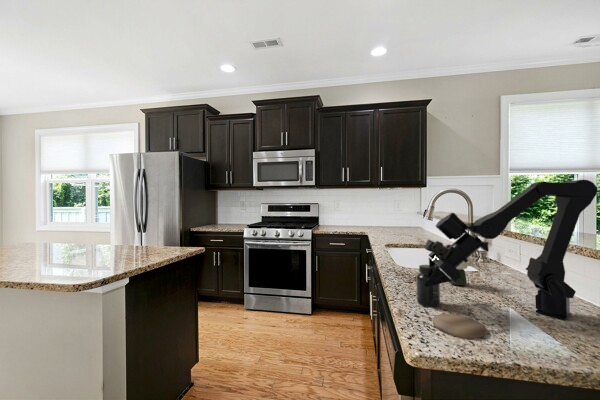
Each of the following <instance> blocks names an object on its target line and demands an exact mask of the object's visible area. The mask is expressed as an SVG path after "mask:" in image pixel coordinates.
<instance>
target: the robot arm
mask: <svg viewBox="0 0 600 400" xmlns="http://www.w3.org/2000/svg"><path fill="white" fill-rule="evenodd" d="M598 190H599V189H598V186H597V185H596V184H595V183H594V182H593V181H591V180H589V179H576V180H567V181H564V182H553V181H551V182H548V181H537V182H533V183H531V184H530V185H529V186H528V187H527V188H525V189H524V190H523V191H522V192H520V193H519V194H517V195H516V196H515V197H513V198H512V199H510V201H508V202H506V203H505V204H504V205H502V206H501V207H500V208H499V209H498V210H496V211H493V212H491V213H489V214H486V215H484V216H482V217H480V218H477V220H475V221H474V222H466V223H465V222H464V221H463V220H461V218H460V217H458V215H457V214H456V213H455V212H450V213H449V214H448V215H446V216H444V217H442V218H441V219H440V220H438V222H437V223H436V224H435V227H436V229H438V230H439V232H441V233H442V234H443V235H444V236H445V237H446V238H447V239H449V240H452V239H453V240H455V241H454V242H453V243H452V244H446V245H445V246H444V243H443V242H440V241H438V240H436V241H433V240H431V239H429V238H428V239H427V240H426V242H425V244H424V247H423V248H424V249H425V250H426V251H428V252H430V253H429V254H428V265H432V266H435V270H434V272H433V274H432V275H431V276H430V277H429V278H428V279H427V281H426V282H425V283H424V285H425V286H426V287H429V286H433V285H437V284H441V285H442V284H446V283H450V282H452V280H453V281H454V282H457V281H459V280H460V279H461V274H460V273H459V272H458V271H457V270H458V269H457V268H456V267H458V266H459V265H460V264H461V263H462V262H465V263H466V262H467V261H468V262H469V260H467V258H468V257H469V258H470V257H471V256H472V255H473V254H475V252H477V251H478V250H479V249H482V250H483V251H485V252H489V243H488V242H487V241H483V240H482V239H481V238H484V239H487V240H493V239H496V238H498V236H500V234H502V232H503V231H504V230H506V228H507V227H508V225H509V224H510V222H511V221H512V220H514V219H515V218H516V217H517V216H519V215H521V214H522V213H523V212H524V211H527V210H528V209H529V208H530V207H531V206H533V205H534V204H535V203H537V202H538V201H540V200H541V199H542V198H544V197H545V196H547V197H549V196H550V197H555V203H556V204H555V205H556V213H555V215H554V217H553V220H552V223H551V226H550V229H549V231H548V235H547V237H546V241H545V243H544V246H543V249H542V251H541V254H540V255H539V256H538V257H536V258H534V257H530V258H529V260H528V265H527V267H526V268H525V271H527V272H526V276H527V278H528V279H529V281H531V282H532V283H533V284H534V287H535V288H536V289H538V290H537V294H535V295H534V296H535V297H534V298H535V302H534V303H535V309H536V310H535V313H537V314H541V315H544V316H547V317H548V316H549V317H551V318H556V319H559V320H562V321H566V320H568V319H569V318H570V317H572V315H573V314H572V312H571V311H570V310H571V309H570V308H571V307H570V306H571V305H570V301H571V299H573V298H574V297H575V295H576V290H575V289H574V288H572V287H571V286H570V285H569V284H568V283H567V282H566V281H565V277H566V269H565V264H564V260H565V256H566V254H567V251H568V248H569V245H570V242H571V240H572V237H573V234H574V230H575V229H576V226H577V223H578V221H579V219H580V215H581V213H582V212H583V211H584V210H585V209H586V208H587V207H589V206H590V205H591V204H592V202H593V200H594V199H595V197H596V196H597V194H598ZM469 232H470V233H474V235H471V234H470V233H469ZM480 237H481V238H480ZM451 279H452V280H451Z"/></svg>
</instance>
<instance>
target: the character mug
mask: <svg viewBox="0 0 600 400" xmlns="http://www.w3.org/2000/svg"><path fill="white" fill-rule="evenodd" d="M467 260H468V261H467V262H466V263H465V262H462V263H461V264H460V265H459V266H458V267H456V268H457V269H458V270H457V271H458V272H459V273H460V274H461V279H460V280H459V281H457V282H454V281H453V280H452V279H451V280H452V282H449V283H450V284H451V285H456V286H463V285H467V284H468V283H467V277H466V276H467V275H466V271H465V270H467V268H468V267H473V266H474V259H473V258H472V257H470V256H469V257H468V258H467Z"/></svg>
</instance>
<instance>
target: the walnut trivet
mask: <svg viewBox="0 0 600 400" xmlns="http://www.w3.org/2000/svg"><path fill="white" fill-rule="evenodd" d="M432 325H433V326H434V328H435V329H437V330H438V331H440V332H442V333H444V334H446V335H449V336H452V337H456V338H459V337H461V339H466V338H479V339H482V337H483V338H484V337H486V336H487V328H486V326H485V325H484V324H483V323H481V322H480V321H479V320H476V319H474V318H471V317H468V316H465V315H460V314H455V313H440V314H437V315H435V316H433V318H432ZM485 335H486V336H485Z"/></svg>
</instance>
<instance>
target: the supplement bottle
mask: <svg viewBox="0 0 600 400" xmlns="http://www.w3.org/2000/svg"><path fill="white" fill-rule="evenodd" d="M418 266H419V267H418V269H419V270H418V271H419V273H418V274H416V278H415V279H416V301H417V303H418V304H419V305H421V306H423V307H430V308H431V307H432V308H434V307H439V306H440V304H441V288H440V286H441V285H440V284H437V285H433V286H429V287H426V286H425V285H424V283H425V282H426V281H427V279H428V278H429V277H430V276H431V275H432V274H433V272H434V270H435V266H432V265H429V264H420V265H418Z"/></svg>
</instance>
